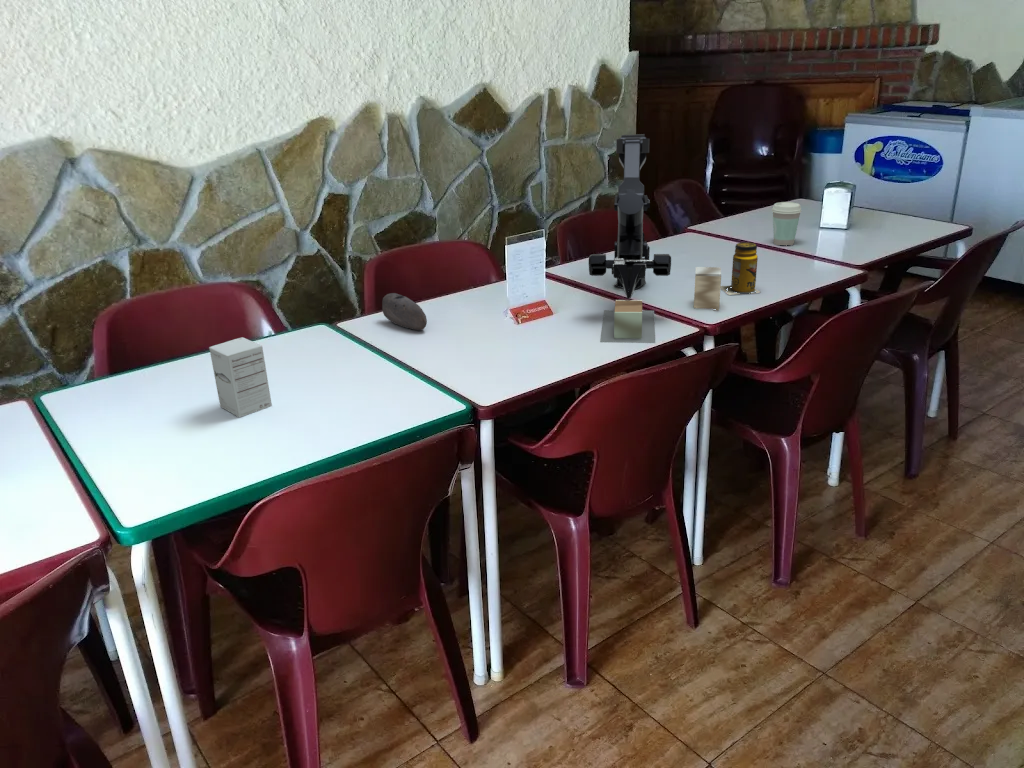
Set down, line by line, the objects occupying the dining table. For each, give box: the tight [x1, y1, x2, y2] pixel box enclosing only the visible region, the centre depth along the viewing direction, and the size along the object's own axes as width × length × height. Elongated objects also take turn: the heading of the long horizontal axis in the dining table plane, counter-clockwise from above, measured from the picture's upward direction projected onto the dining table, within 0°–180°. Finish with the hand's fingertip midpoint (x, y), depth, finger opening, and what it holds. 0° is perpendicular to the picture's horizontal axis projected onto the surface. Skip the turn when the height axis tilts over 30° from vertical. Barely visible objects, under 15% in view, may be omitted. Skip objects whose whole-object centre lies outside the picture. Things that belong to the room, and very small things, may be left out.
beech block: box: [693, 266, 722, 311], centre depth 206 cm, size 6×6×9 cm
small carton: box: [614, 299, 643, 339], centre depth 191 cm, size 6×6×9 cm
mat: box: [599, 309, 656, 344], centre depth 196 cm, size 22×12×1 cm, turn 172°
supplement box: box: [208, 336, 273, 418], centre depth 161 cm, size 7×7×13 cm
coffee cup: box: [771, 201, 802, 247], centre depth 257 cm, size 8×9×12 cm
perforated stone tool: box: [381, 292, 428, 331], centre depth 202 cm, size 15×5×7 cm, turn 40°
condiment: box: [720, 241, 761, 296], centre depth 217 cm, size 7×8×12 cm
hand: (628, 297), depth 194 cm, fingers closed
